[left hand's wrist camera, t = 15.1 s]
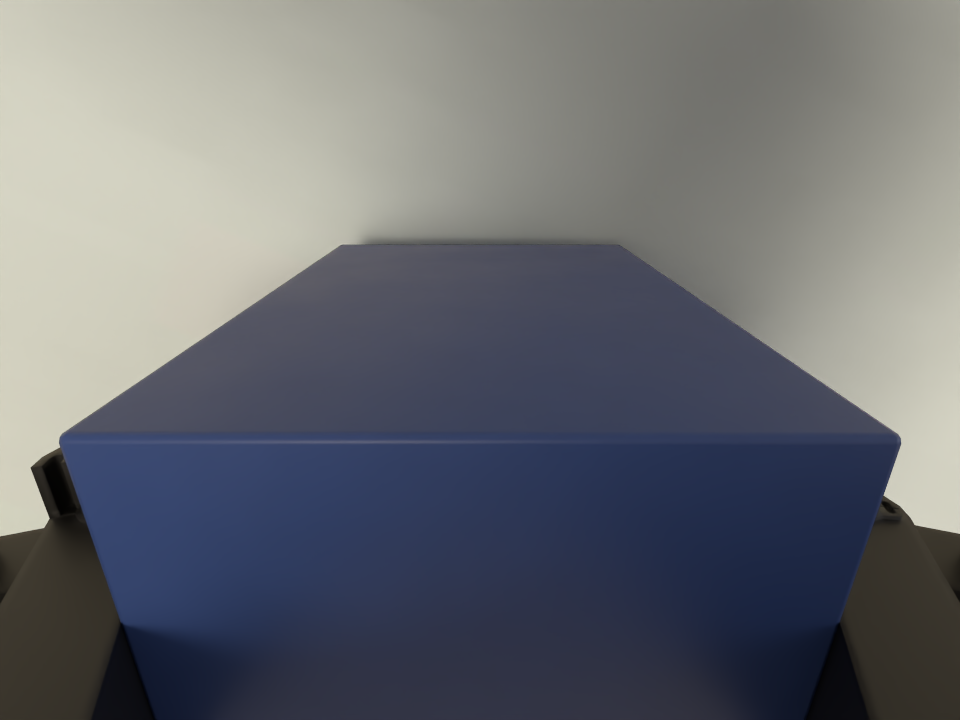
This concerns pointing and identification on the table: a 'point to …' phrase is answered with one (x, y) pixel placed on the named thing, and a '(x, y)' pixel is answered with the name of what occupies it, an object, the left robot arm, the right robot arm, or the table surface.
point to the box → (480, 499)
